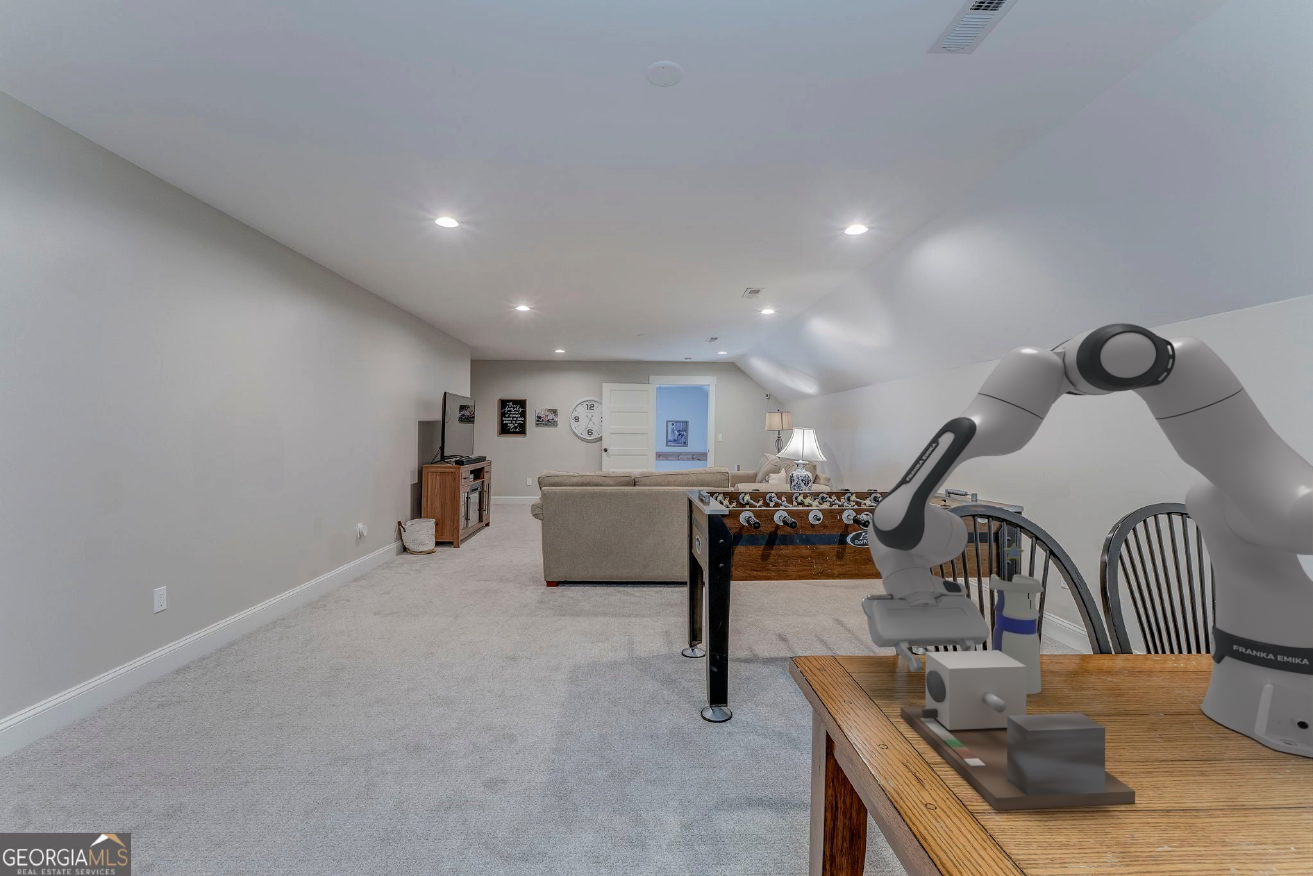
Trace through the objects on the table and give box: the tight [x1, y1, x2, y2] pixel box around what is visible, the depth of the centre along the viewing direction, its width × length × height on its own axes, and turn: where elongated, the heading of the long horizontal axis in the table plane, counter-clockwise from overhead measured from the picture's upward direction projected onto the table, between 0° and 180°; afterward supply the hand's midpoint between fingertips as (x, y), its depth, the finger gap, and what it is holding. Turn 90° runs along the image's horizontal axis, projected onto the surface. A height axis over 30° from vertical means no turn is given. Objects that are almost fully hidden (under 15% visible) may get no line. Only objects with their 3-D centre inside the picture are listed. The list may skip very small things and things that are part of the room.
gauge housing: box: [922, 649, 1027, 730], centre depth 81 cm, size 8×14×9 cm, turn 94°
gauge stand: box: [900, 705, 1136, 811], centre depth 77 cm, size 22×18×10 cm
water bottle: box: [988, 543, 1045, 695], centre depth 99 cm, size 8×9×25 cm
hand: (944, 669), depth 90 cm, fingers open, 8 cm apart
